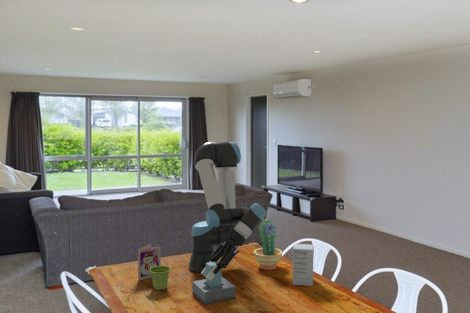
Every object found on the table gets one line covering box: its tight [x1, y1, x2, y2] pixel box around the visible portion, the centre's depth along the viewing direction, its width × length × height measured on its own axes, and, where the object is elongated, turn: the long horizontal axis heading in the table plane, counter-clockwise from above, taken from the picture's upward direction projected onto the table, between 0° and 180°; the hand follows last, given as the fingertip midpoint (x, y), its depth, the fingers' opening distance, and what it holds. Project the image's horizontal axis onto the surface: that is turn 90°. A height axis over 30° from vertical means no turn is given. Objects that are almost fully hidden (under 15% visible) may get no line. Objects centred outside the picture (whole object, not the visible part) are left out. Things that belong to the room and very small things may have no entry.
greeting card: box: [137, 243, 162, 281], centre depth 205 cm, size 11×7×15 cm, turn 123°
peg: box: [205, 261, 222, 288], centre depth 181 cm, size 5×5×10 cm
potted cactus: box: [252, 218, 284, 271], centre depth 217 cm, size 15×15×25 cm
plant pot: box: [150, 265, 171, 291], centre depth 191 cm, size 9×9×9 cm
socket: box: [192, 275, 236, 305], centre depth 182 cm, size 14×14×5 cm
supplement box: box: [292, 243, 314, 287], centre depth 196 cm, size 10×9×17 cm
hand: (205, 277), depth 179 cm, fingers closed on peg, 5 cm apart
